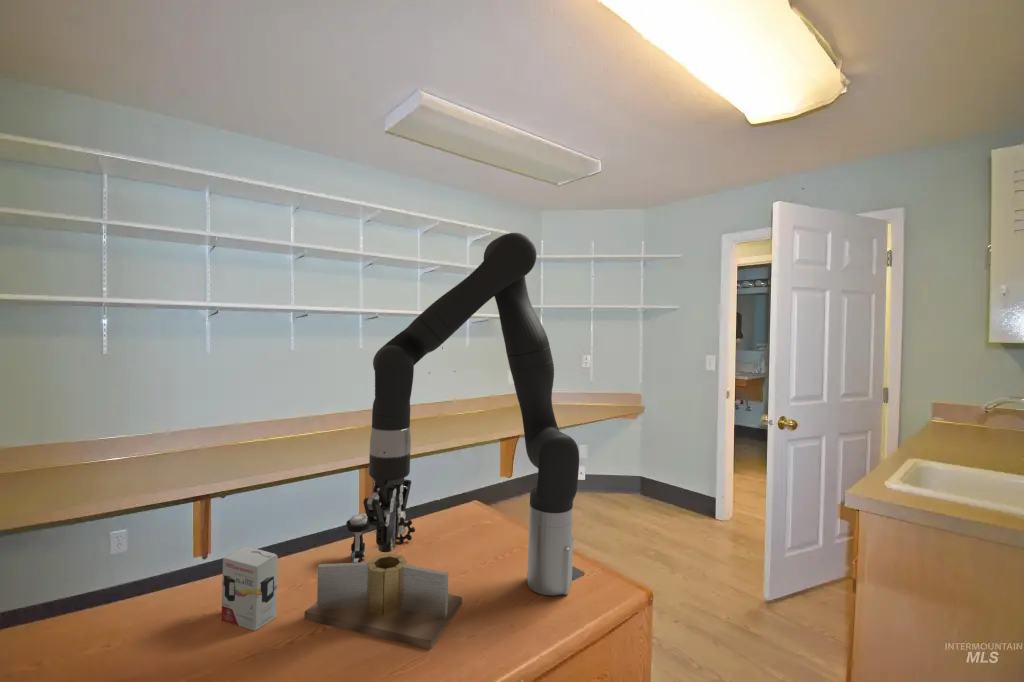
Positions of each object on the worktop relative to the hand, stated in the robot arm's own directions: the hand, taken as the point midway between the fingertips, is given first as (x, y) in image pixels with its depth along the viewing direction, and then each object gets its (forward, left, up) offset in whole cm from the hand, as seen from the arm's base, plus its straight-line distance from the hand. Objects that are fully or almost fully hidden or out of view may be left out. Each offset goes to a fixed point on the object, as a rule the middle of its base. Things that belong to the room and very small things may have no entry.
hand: (387, 540), depth 91 cm
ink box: (+22, +10, -14) cm, 28 cm away
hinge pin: (0, 0, -2) cm, 2 cm away
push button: (+16, -15, -14) cm, 26 cm away
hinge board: (0, 0, -14) cm, 14 cm away
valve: (+15, -31, -14) cm, 37 cm away
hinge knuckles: (0, +1, -12) cm, 12 cm away
